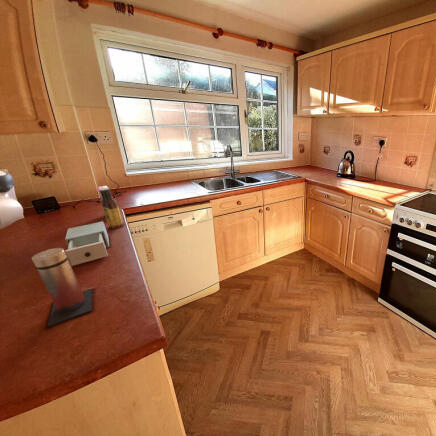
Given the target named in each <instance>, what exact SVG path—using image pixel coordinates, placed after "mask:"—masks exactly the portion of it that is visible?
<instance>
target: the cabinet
mask: <svg viewBox="0 0 436 436" xmlns="http://www.w3.org/2000/svg"><path fill="white" fill-rule="evenodd" d="M97 233H102V236H103V239H104V242H105V245H106V249H107V248H110V239H109V235H108V231H107V229H106V226H105V223H104V220H103V221H98V222H93V223H88V224H84V225H79V226H74V227H70V228H67V232H66V235H65V238H64V240H65V243H66V245H67V247H68V246H69V242H70V240H71V239H76V238H80V237H84V236H89V235H93V234H97Z"/></svg>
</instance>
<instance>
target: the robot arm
mask: <svg viewBox="0 0 436 436" xmlns="http://www.w3.org/2000/svg"><path fill="white" fill-rule="evenodd" d="M15 184H16V183H15V180H14V178H13V176H12V174H10V173H9V172H8V171H5V170H2V169H0V230H3V229H4V228H7V227H9V226H10V225H12V224H14V223H16V222H17V221H19V220H20V219H21V218H22V217H23V215H24V208H23V206H22V204H21V203H20V202H19V201H17V197H16V189H15Z"/></svg>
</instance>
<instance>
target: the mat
mask: <svg viewBox="0 0 436 436" xmlns="http://www.w3.org/2000/svg"><path fill="white" fill-rule="evenodd" d="M82 292H83V294H84V297H85V299H86V302H85V303H84V304H83V305H82V306H81V307H79V308H78V309H76V310H73V311H71V312H67V313H60V312H58V310H57V308H56V306H55V304H54V302H53V301H52V302H53V303H52V306H51V311H50V315H49V319H48V323H47V328H50V327H53V326H56V325H59V324H61V323H63V322H66V321H69V320H72V319H74V318H77V317H80V316H83V315H85V314H88V313H91V312H92V310H93V309H92V308H93V307H92V306H93V305H92V303H93V289H92V288H90V289H89V288H88V289H86V290H82Z"/></svg>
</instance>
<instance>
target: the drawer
mask: <svg viewBox="0 0 436 436" xmlns="http://www.w3.org/2000/svg"><path fill="white" fill-rule="evenodd" d="M64 251H65V254H66V256H67V257H68V260H69V263H70V265H71V267H73V266H76V265H80V264H85V263H87V262H91V261H95V260H99V259H101V258H105V257H108V256H109V253H108V250H107V248H106V245H105V242H104V239H103V236H102V233H97V234H93V235H89V236H84V237H80V238H76V239H71V240H70V242H69V246H68V245H67V249H65V250H64Z"/></svg>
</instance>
